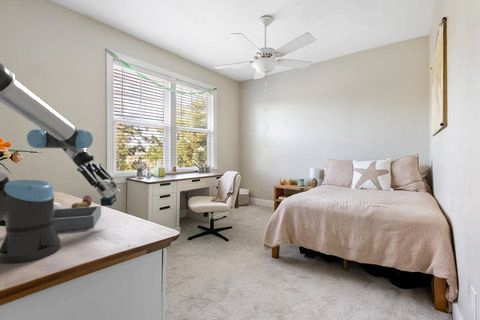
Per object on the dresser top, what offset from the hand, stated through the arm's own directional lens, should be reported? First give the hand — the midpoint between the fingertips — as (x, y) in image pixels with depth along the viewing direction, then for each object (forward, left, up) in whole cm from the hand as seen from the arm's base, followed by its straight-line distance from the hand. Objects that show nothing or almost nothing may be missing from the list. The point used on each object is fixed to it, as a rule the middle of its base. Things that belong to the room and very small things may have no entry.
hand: (114, 194), depth 106 cm
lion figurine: (+27, +18, -14) cm, 35 cm away
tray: (+9, +18, -14) cm, 25 cm away
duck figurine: (+31, +34, -14) cm, 48 cm away
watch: (+3, +2, -4) cm, 6 cm away
